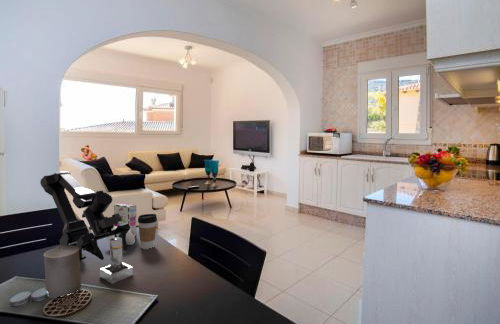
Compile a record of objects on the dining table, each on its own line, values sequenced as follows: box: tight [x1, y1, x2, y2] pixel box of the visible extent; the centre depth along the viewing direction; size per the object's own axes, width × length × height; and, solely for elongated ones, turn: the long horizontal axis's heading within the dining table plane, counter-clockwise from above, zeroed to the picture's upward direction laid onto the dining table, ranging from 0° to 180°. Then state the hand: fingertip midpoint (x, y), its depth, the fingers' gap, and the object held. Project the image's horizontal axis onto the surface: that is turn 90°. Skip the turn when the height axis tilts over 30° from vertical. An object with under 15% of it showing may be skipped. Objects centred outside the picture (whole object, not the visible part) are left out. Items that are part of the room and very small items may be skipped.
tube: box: [109, 237, 123, 273], centre depth 106 cm, size 4×4×13 cm
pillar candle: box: [43, 245, 82, 299], centre depth 95 cm, size 10×10×15 cm
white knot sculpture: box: [106, 226, 136, 246], centre depth 135 cm, size 11×12×9 cm
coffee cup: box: [137, 213, 158, 250], centre depth 134 cm, size 8×8×15 cm
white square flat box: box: [99, 261, 134, 284], centre depth 106 cm, size 8×8×3 cm
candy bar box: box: [113, 202, 137, 238], centre depth 147 cm, size 11×5×16 cm, turn 62°
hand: (114, 254), depth 106 cm, fingers open, 9 cm apart
